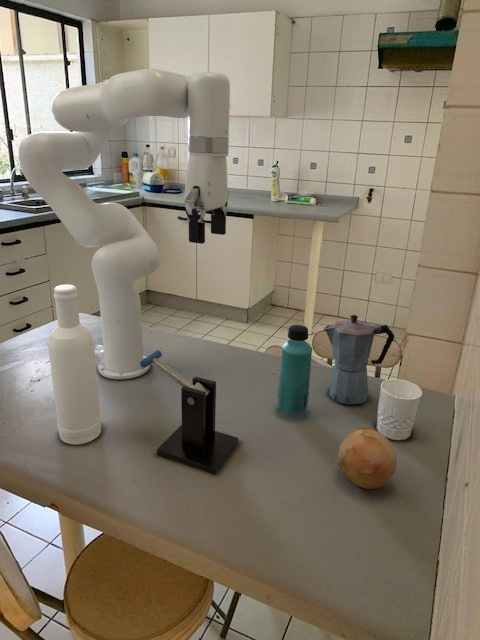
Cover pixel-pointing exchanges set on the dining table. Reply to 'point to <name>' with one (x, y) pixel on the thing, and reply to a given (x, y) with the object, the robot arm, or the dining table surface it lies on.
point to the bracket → (198, 431)
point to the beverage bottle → (295, 371)
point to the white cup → (397, 408)
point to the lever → (170, 371)
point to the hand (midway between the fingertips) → (207, 238)
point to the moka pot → (353, 357)
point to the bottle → (73, 371)
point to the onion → (367, 458)
